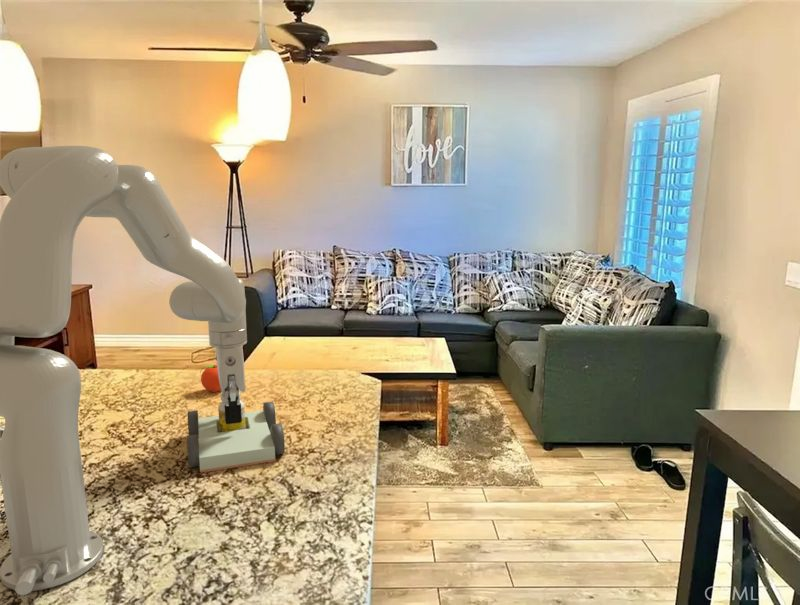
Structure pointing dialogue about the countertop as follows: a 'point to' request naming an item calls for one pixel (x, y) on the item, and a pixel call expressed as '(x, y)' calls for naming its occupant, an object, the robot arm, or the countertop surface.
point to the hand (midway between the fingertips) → (232, 414)
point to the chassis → (234, 441)
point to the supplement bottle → (222, 423)
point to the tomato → (211, 378)
